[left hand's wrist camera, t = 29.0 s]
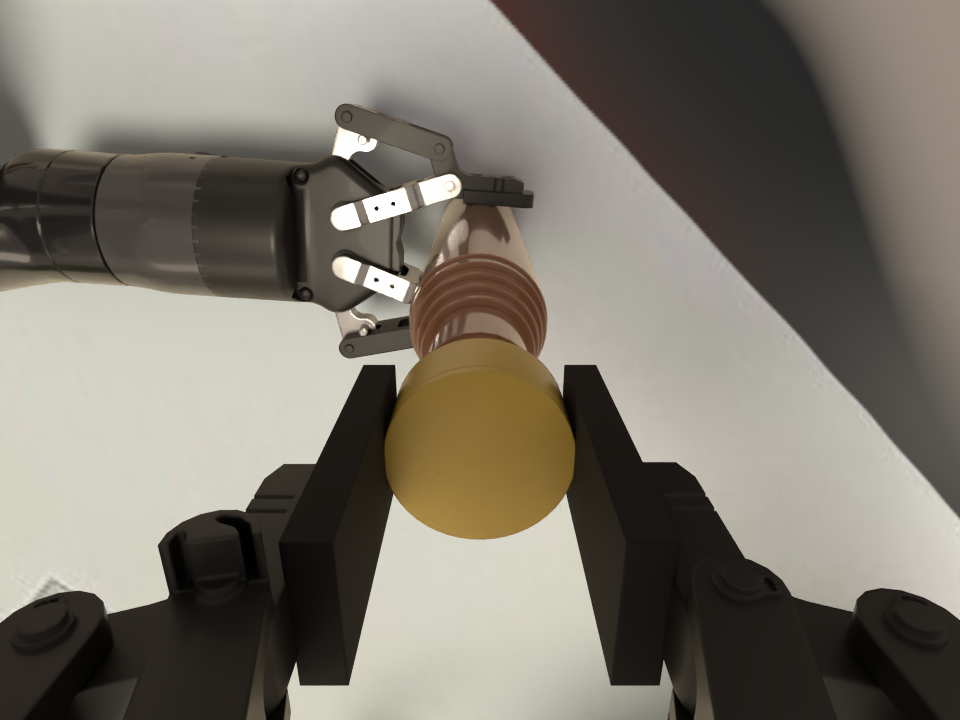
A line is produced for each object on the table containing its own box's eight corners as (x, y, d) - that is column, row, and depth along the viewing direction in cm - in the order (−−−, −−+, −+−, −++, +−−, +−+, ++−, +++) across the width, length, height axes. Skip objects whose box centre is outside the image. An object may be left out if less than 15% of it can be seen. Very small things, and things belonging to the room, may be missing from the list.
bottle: (457, 272, 40) (426, 496, 16) (430, 204, 39) (352, 343, 15) (524, 247, 40) (594, 443, 16) (500, 177, 38) (537, 276, 14)
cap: (576, 346, 14) (591, 381, 12) (551, 495, 16) (561, 547, 14) (399, 329, 14) (387, 361, 12) (391, 481, 15) (378, 532, 13)
